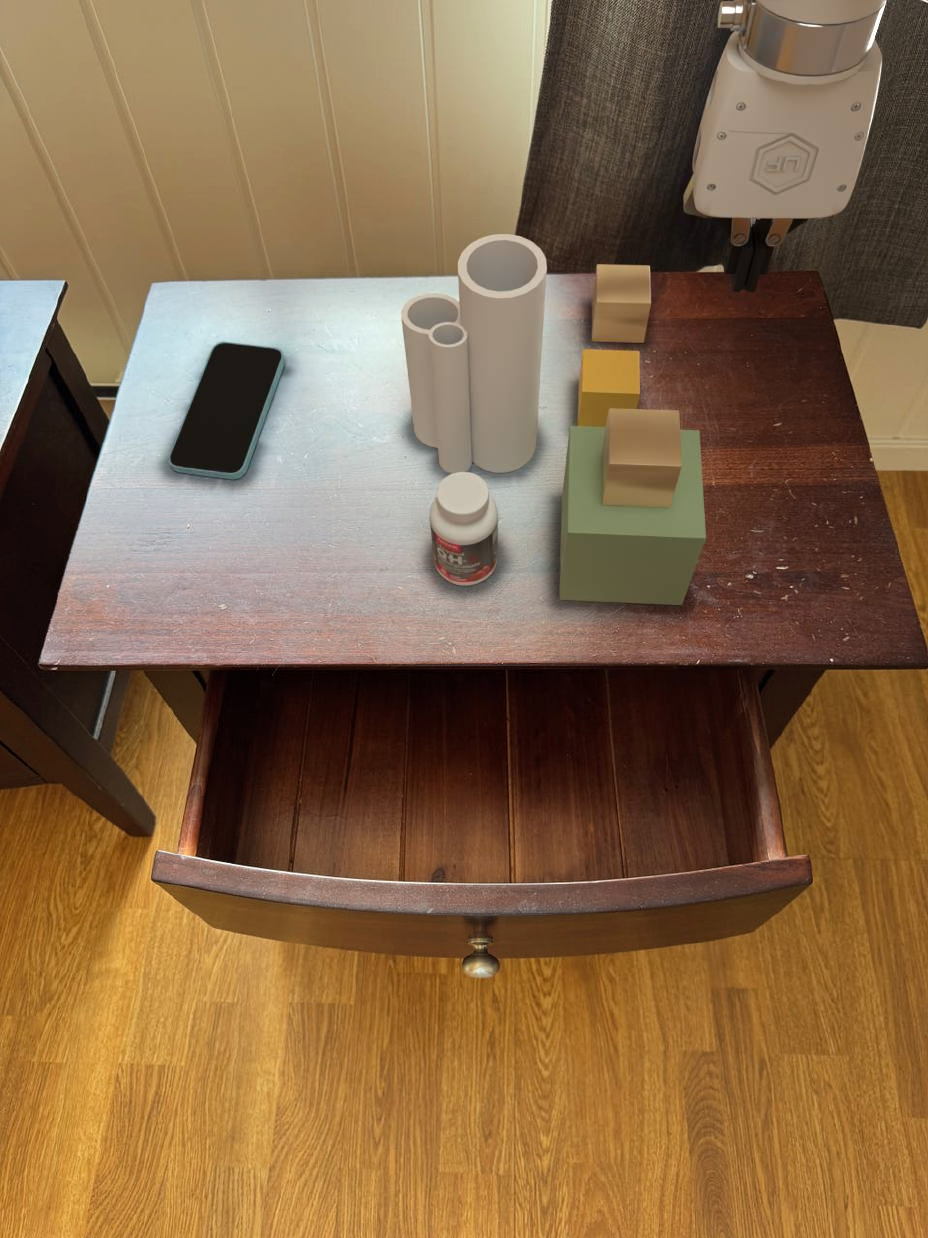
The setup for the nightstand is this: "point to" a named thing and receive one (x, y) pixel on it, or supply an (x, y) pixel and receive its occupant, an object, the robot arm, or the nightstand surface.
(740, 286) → the robot arm
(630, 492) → the near maple block
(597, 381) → the mustard block
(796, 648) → the nightstand surface
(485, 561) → the pill bottle
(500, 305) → the vase
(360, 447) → the nightstand surface
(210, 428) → the smartphone
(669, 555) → the stand
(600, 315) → the far maple block
